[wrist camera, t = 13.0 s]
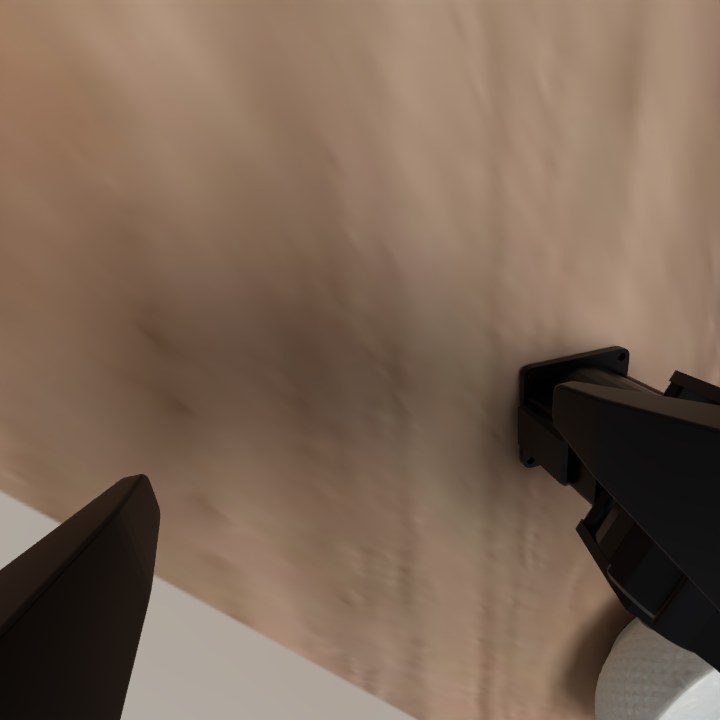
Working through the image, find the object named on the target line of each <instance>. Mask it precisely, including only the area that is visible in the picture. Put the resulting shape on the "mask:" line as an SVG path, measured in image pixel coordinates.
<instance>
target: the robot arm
mask: <svg viewBox="0 0 720 720" xmlns="http://www.w3.org/2000/svg"><path fill="white" fill-rule="evenodd" d="M619 354H620V356H619V357H618V355H619ZM628 364H629V351H628V350H627V349H625V348H623V347H620V346H617V347H612V348H607V349H603V350H598V351H593V352H589V353H584V354H579V355H574V356H570V357H565V358H560V359H556V360H551V361H546V362H542V363H537V364H532V365H528V366H526V367H524V368H523V369H522V371H521V374H520V405H519V407H518V444H519V445H520V462H521V463H522V464H523V465H524V466H525V467H527V468H531V467H535V466H539V465H541V466H542V467H543V468H544V469H545V470H546V471H547V472H548V473H549V474H550V475H551V476H553V477H554V478H555V479H556V480H557V481H558V482H559V483H560V484H562V485H563V486H566V485H570V486H572V487H573V488H574V489H575V490H576V491H577V492H578V493H579V494H580V495H581V496H582V497H583V498H585V499H586V500H587V501H588V502H589V503H590V504H591V505H592V508H591V509H590V511H589V512H588V514H587V516H586V517H585V519H584V520H583V519H581V521H580V522H579V524H578V526H577V527H576V531H577V532H578V534H579V536H580V537H581V539H582V540H583V542H584V544H585V545H586V547H587V548H588V550H589V552H590V553H591V555H592V557H593V558H594V560H595V561H596V563H597V565H598V566H599V568H600V570H601V571H602V573H603V574H604V576H605V578H606V579H607V581H608V583H609V584H610V586H611V587H612V589H613V591H614V592H615V593H616V595H617V596H618V598H619V600H620V601H621V603H622V604H623V606H624V607H625V609H627V610H628V611H629V612H630V613H631V614H633V615H634V616H636V617H638V619H639V620H640V622H641V623H642V624H643V625H644V626H646V627H647V628H649V629H651V630H654V631H655V632H657V633H658V634H659V635H661V636H662V637H664V638H665V639H667V640H668V641H670V642H672V643H674V644H675V645H677V646H679V647H681V648H683V649H685V650H688V651H690V652H693V653H695V654H696V655H698V656H699V657H700V658H701V659H703V660H704V661H705V662H707V663H708V664H709V665H711V666H712V667H713V668H715V669H716V670H717V671H718V672H719V673H720V387H717V386H715V385H712V384H710V383H707V382H704V381H702V380H699V379H697V378H694V377H692V376H689V375H687V374H684V373H681V372H679V371H676V370H675V372H674V374H673V375H672V377H671V378H670V380H669V381H670V382H671V383H670V385H669V386H668V388H667V389H666V391H665V392H664V393H663V392H661V391H659V390H657V389H655V388H652V387H650V386H648V385H646V384H644V383H642V382H640V381H638V380H636V379H633V378H631V377H629V376H627V373H628ZM531 372H533V373H532V376H531V377H529V378H528V376H529V374H530V373H531ZM530 457H531V458H530ZM529 458H530V459H529ZM528 459H529V460H528ZM159 525H160V509H159V505H158V502H157V500H156V497H155V494H154V491H153V489H152V486H151V483H150V481H149V478H148V477H147V476H146V475H144V474H139V475H134V476H129V477H125V478H122V479H121V480H120V481H118V482H117V483H116V484H114V485H113V486H112V487H110V488H109V489H108V490H106V491H105V492H104V493H102V494H101V495H100V496H98V497H97V498H96V499H94V500H93V501H92V502H90V503H89V504H88V505H86V506H85V507H84V508H82V509H81V510H80V511H78V512H77V513H76V514H74V515H73V516H72V517H70V518H69V519H68V520H66V521H65V522H64V523H62V524H61V525H60V526H58V527H57V528H56V529H54V530H53V531H52V532H50V533H49V534H48V535H46V536H45V537H44V538H42V539H41V540H40V541H39V542H37V543H36V544H34V545H33V546H32V547H30V548H29V549H28V550H26V551H25V552H24V553H22V554H21V555H20V556H18V557H17V558H16V559H14V560H13V561H12V562H11V563H9V564H8V565H6V566H5V567H4V568H2V569H1V570H0V720H120V718H121V714H122V710H123V706H124V702H125V698H126V693H127V689H128V685H129V681H130V677H131V673H132V668H133V665H134V660H135V657H136V652H137V648H138V644H139V640H140V636H141V632H142V627H143V623H144V619H145V615H146V611H147V607H148V603H149V598H150V594H151V589H152V582H153V575H154V566H155V558H156V550H157V541H158V533H159Z"/></svg>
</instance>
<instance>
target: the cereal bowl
mask: <svg viewBox="0 0 720 720" xmlns="http://www.w3.org/2000/svg"><path fill="white" fill-rule="evenodd" d="M594 708H595V718H596V720H720V673H719V672H718V671H717V670H716V669H715V668H713V667H712V666H711V665H709V664H708V663H707V662H705V661H704V660H703V659H701V658H700V657H699V656H698V655H696V654H695V653H693V652H690V651H688V650H685V649H683V648H681V647H679V646H677V645H675V644H674V643H672V642H670V641H668V640H667V639H665V638H664V637H662V636H661V635H659V634H658V633H657V632H655V631H654V630H651V629H649V628H647V627H646V626H644V625H643V624H642V623H641V622H640V620H639V619H638V617H636V618H635V619H634V620H632V621H631V622H630V623H629V624H628V625H627V626H626V627H625V628H624V629H623V630H622V631H621V633H620V634H619V635H618V637H617V638H616V640H615V642H614V644H613V646H612V649H611V652H610V654H609V656H608V657H607V659H606V662H605V664H604V665H603V667H602V671H601V673H600V674H599V679H598V681H597V687H596V693H595V706H594Z"/></svg>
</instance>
